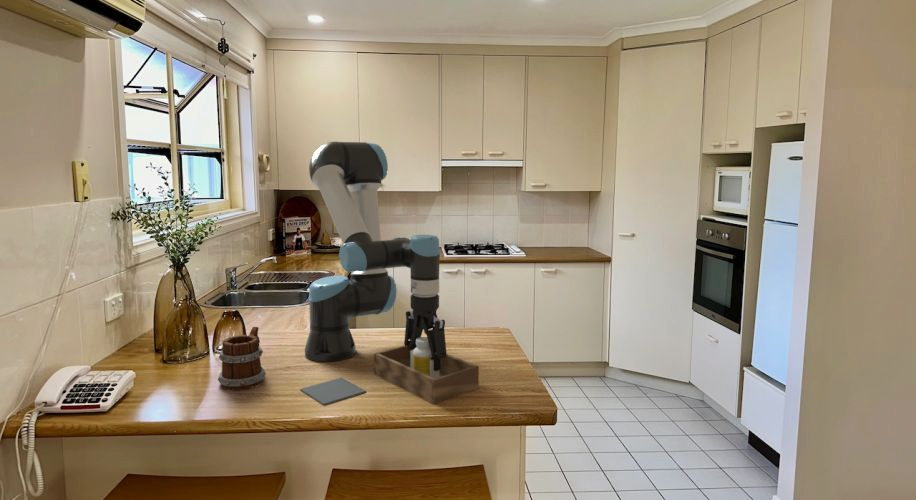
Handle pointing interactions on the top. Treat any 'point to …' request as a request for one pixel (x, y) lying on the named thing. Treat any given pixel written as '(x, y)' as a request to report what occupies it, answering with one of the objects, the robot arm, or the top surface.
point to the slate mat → (332, 391)
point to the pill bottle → (422, 356)
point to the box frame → (434, 390)
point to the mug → (241, 362)
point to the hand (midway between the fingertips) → (424, 376)
